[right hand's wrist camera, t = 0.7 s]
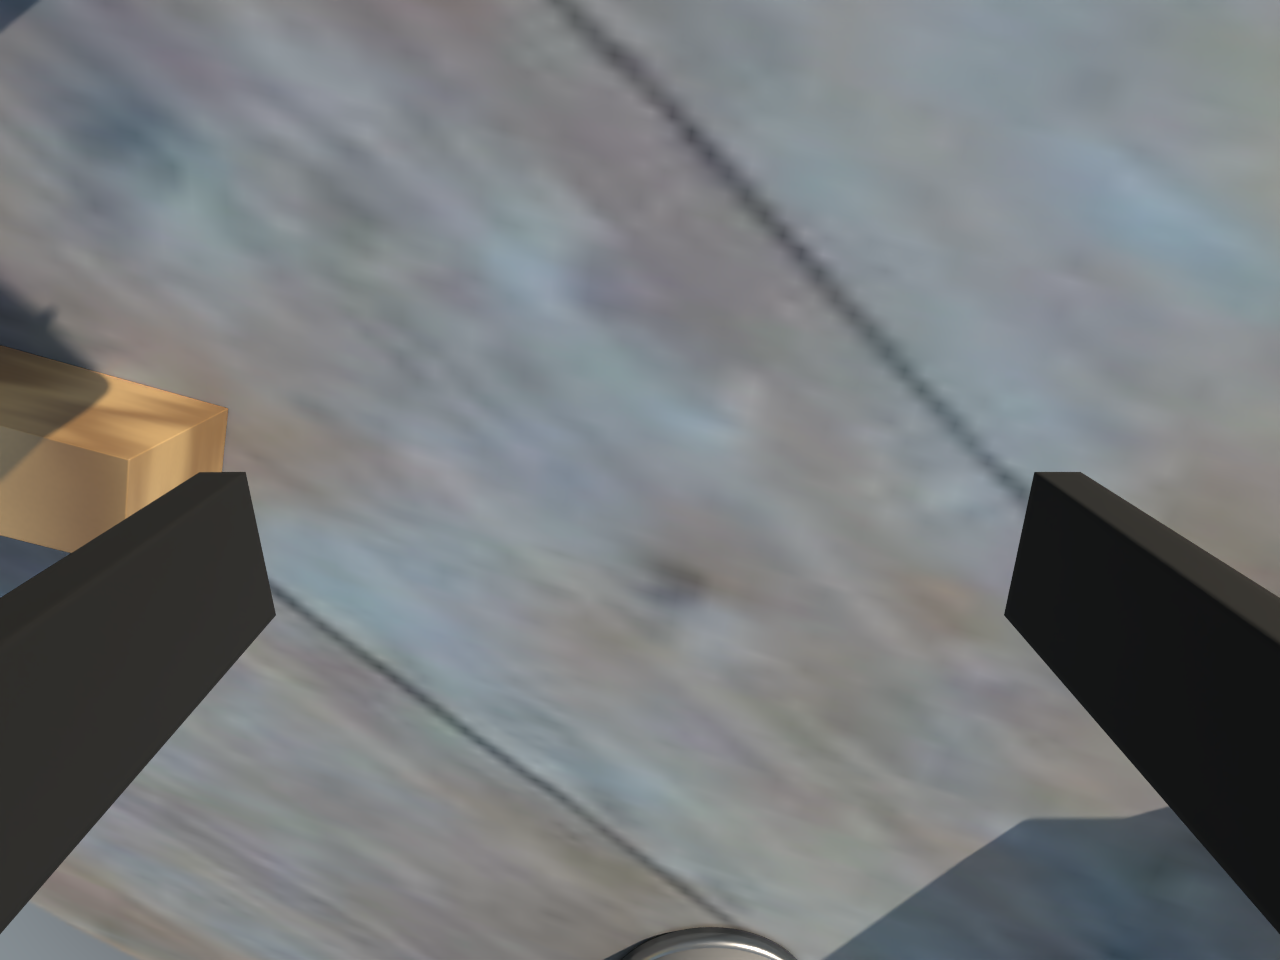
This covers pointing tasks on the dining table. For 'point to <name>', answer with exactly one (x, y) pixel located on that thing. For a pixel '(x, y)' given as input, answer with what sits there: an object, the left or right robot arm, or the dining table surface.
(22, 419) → the bar
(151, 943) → the dining table surface
